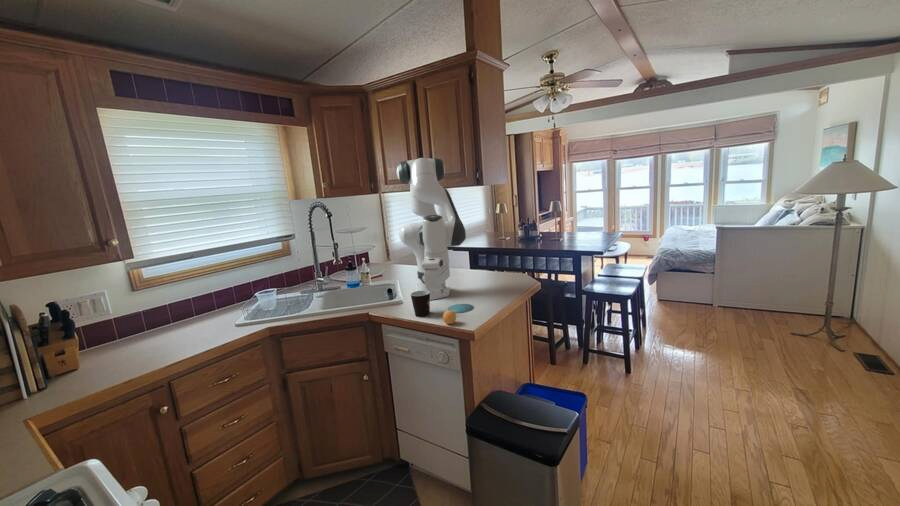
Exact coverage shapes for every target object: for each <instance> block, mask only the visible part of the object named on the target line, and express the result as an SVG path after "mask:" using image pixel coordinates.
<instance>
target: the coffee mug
mask: <svg viewBox="0 0 900 506" xmlns="http://www.w3.org/2000/svg"><path fill="white" fill-rule="evenodd" d="M410 298H411V302H412V308H413V312H414V315H415V317H417V318H425V317H429V315H430V311H431V310H430V308H431V306H430V304H431V303H430V302H431V300H430V292H429V291H425V290H422V291H416V290H415V291H413V292H411V293H410Z"/></svg>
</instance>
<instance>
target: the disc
mask: <svg viewBox="0 0 900 506" xmlns="http://www.w3.org/2000/svg"><path fill="white" fill-rule="evenodd" d="M446 309H447V310H446V311H453V312H454V313H455V314H459V313H460V314H462V312H463V313H467V311H468V312H470V311H473V309H474V305H473V304H469V303H458V304H456V303H455V304H452V305H449V307H447V308H446Z"/></svg>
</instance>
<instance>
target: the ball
mask: <svg viewBox="0 0 900 506" xmlns="http://www.w3.org/2000/svg"><path fill="white" fill-rule="evenodd" d="M442 320H443V322H444V323H446V324H447V325H453V324H454V323H455V322H456V320H457V313H454V312H453V311H448V310H446V311H445V312H444V313H443V315H442Z"/></svg>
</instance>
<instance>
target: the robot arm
mask: <svg viewBox="0 0 900 506" xmlns="http://www.w3.org/2000/svg"><path fill="white" fill-rule="evenodd" d="M445 173H446V167H445V164H444V161H443V160H442V159H441V158H438V157H434V158H428V157H427V158H426V157H419V158H417V159H410V160H403V161H400V162H399V163H398V164H397V168H396V176H397V179H398V181H399V183H400V184H403V185H410V186H409V191H410V192H409V194H410V204H411V211H412V213H413V214H414V215H416V216H418V217H421V218H422V221H421V222H412V223H409V224H404V225H402V226H401V227H400V229H399V233H398V234H399V236H398V237H399V239H400V242H401V243H402V244H403V245H405V246H406V247H408V248H410V250H411V251H412V253H413V254H414V257H415V259H416V265H417V280H416V281H415V292H416V291H422V290H425V291H429V292H430V301H434V300H437V299H442V298H447V297H449V296H450V292H451V287H450V286H447V284H446V281H447V280H448V278H450V274H451V271H450V270H451V269H450V264H449V263H450V258H449V257H450V256H449V249H448V247H459V246H461V245H462V244H463V243H464V242H465V240H466V238H467V234H466V228H465V226H464V224H463V221H462V219H461V218H460V216H459V213H458V210H457V208H456V206H455V203H454V202H453V199H452V197H451V194H450V192H449V191H448V190H447V189H446V188H444V187H443V186H442V185H441V184H440V181H442V180H443V179H444V177H445ZM435 205H436V206H439V207H441V208H442V209H443V210H444V213H445V215H446V218H447V220H448V221H445V220H444V217H443V216H442V215H439V214H438V212H437V211H436V208H435Z"/></svg>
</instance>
